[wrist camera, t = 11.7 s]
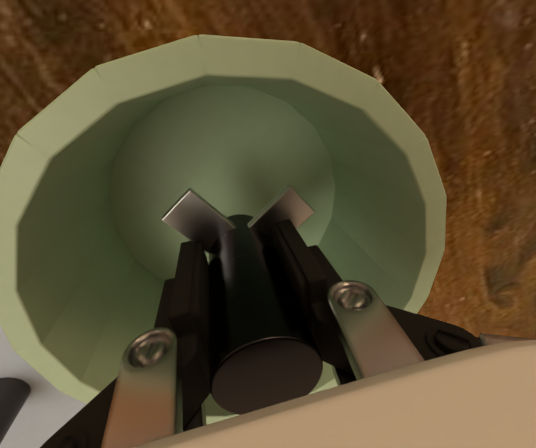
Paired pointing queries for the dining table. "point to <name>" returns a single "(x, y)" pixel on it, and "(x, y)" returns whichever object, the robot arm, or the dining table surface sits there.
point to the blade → (251, 304)
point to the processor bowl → (201, 191)
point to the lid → (29, 402)
